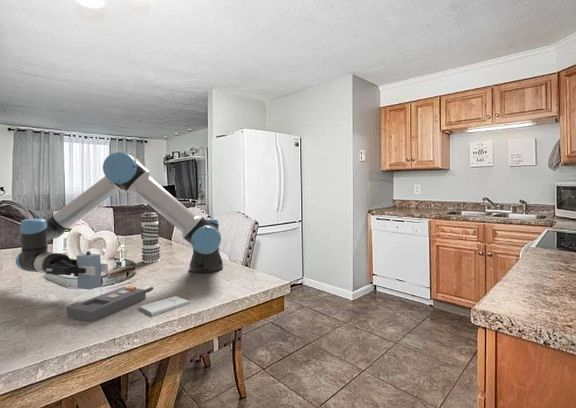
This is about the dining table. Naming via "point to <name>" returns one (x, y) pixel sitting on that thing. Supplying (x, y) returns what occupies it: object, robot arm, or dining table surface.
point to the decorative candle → (150, 237)
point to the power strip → (106, 303)
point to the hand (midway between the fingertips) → (100, 269)
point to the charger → (89, 280)
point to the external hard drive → (163, 305)
